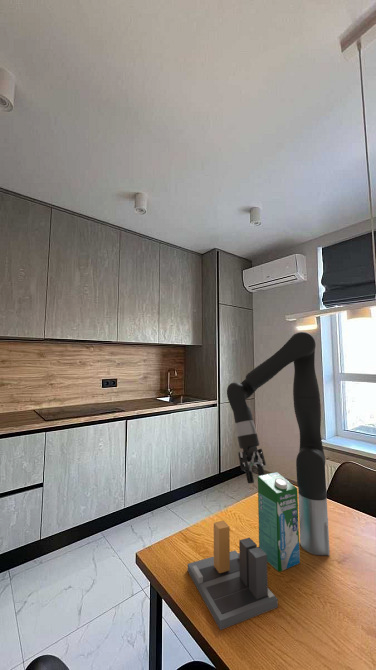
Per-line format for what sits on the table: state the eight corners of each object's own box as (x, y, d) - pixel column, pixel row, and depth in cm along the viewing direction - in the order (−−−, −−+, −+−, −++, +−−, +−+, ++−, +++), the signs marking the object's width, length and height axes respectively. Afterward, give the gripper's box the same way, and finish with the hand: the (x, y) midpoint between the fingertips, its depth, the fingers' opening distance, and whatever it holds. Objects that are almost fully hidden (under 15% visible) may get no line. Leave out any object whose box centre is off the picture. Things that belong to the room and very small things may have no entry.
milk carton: (279, 572, 84) (276, 485, 87) (258, 554, 92) (257, 475, 95) (300, 563, 88) (297, 480, 91) (279, 546, 96) (277, 471, 99)
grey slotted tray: (235, 556, 90) (235, 517, 92) (277, 607, 72) (276, 557, 73) (187, 570, 84) (187, 528, 85) (220, 630, 65) (220, 574, 67)
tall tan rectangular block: (223, 562, 84) (223, 520, 86) (229, 570, 81) (229, 526, 82) (213, 565, 83) (213, 522, 84) (219, 573, 80) (219, 529, 81)
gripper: (245, 433, 99) (256, 484, 92) (264, 431, 109) (275, 477, 103) (228, 436, 103) (237, 485, 97) (247, 434, 113) (257, 478, 107)
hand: (257, 481), depth 100 cm, fingers open, 8 cm apart
